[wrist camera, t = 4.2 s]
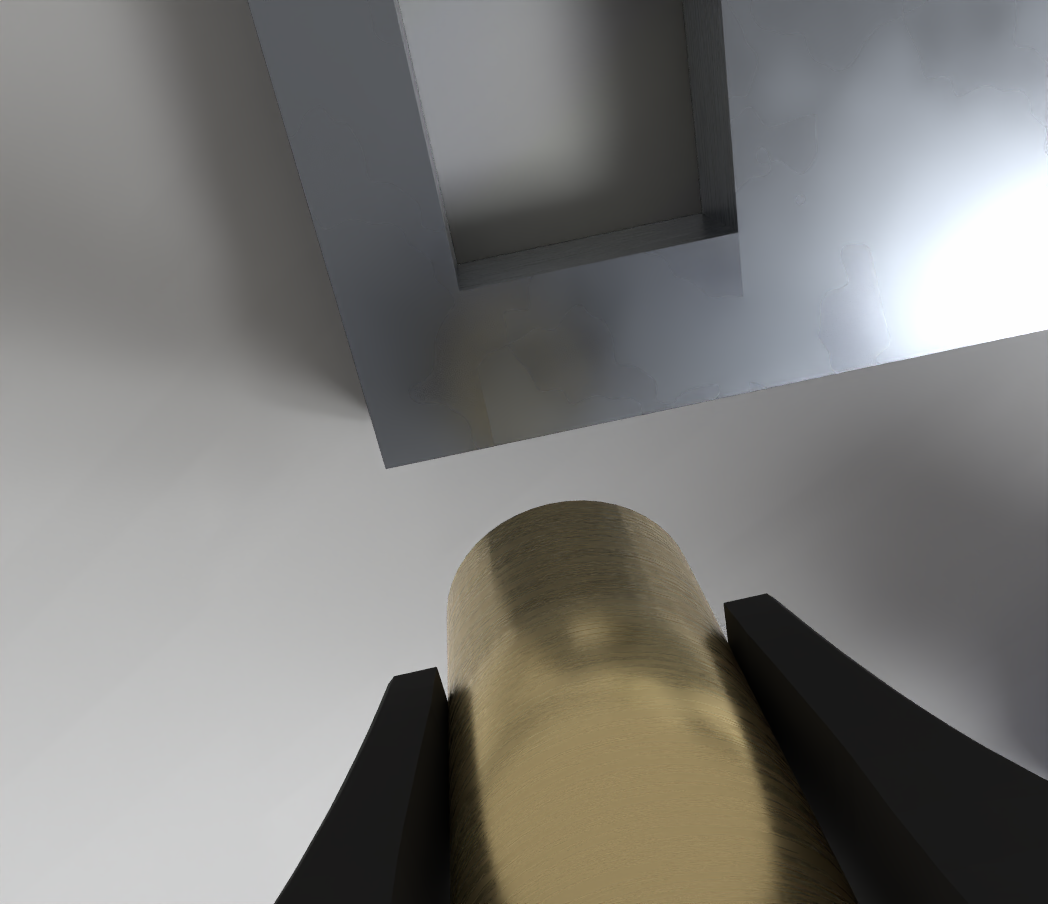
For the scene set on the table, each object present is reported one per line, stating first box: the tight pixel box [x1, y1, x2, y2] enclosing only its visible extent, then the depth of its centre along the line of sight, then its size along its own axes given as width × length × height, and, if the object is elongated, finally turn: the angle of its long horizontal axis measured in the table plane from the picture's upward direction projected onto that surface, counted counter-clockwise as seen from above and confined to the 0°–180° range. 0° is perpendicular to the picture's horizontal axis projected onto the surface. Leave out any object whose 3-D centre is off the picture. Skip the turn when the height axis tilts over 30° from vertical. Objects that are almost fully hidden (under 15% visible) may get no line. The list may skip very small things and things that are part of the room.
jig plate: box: [248, 0, 1048, 469], centre depth 15 cm, size 12×18×2 cm, turn 101°
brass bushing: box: [447, 500, 859, 904], centre depth 10 cm, size 4×4×7 cm
